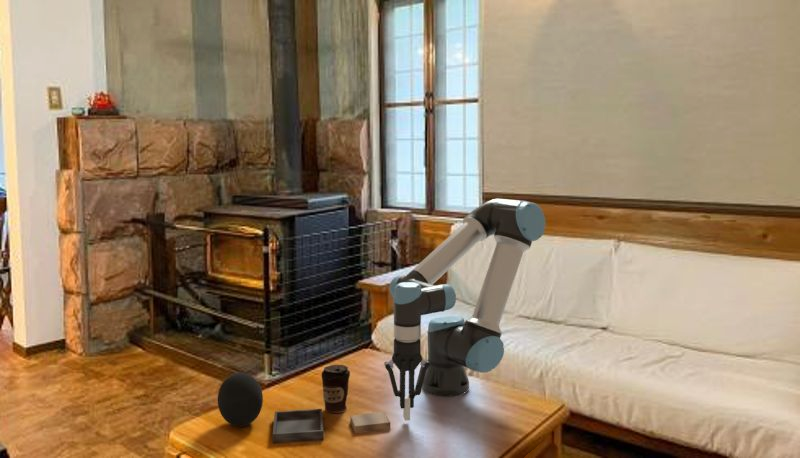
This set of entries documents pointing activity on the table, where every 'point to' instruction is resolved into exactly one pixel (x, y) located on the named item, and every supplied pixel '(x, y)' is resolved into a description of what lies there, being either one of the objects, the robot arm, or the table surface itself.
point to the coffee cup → (335, 388)
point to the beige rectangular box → (370, 422)
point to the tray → (298, 426)
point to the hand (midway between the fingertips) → (406, 418)
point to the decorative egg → (240, 399)
